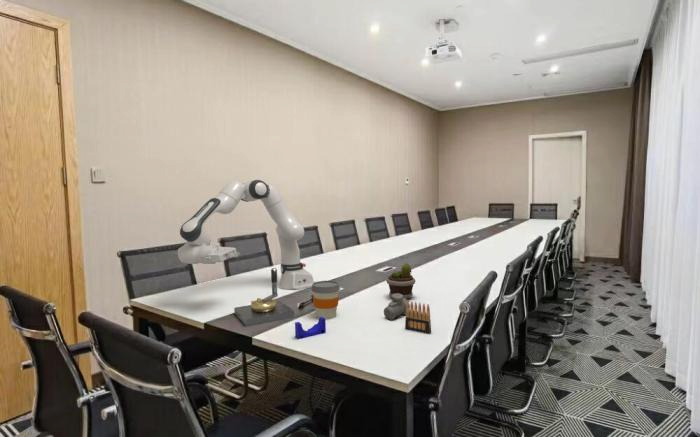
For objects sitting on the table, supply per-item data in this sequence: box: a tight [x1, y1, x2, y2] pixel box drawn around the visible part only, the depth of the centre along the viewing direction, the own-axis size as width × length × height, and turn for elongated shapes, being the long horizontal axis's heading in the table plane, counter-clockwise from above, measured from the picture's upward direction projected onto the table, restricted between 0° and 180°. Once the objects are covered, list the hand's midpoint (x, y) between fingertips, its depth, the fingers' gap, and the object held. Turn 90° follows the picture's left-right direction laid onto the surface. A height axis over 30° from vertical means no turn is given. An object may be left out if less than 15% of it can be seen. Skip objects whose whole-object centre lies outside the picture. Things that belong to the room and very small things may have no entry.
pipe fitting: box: [383, 293, 411, 320], centre depth 176 cm, size 12×8×10 cm
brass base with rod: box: [250, 267, 279, 312], centre depth 183 cm, size 17×11×17 cm, turn 160°
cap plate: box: [233, 300, 295, 327], centre depth 181 cm, size 22×20×3 cm
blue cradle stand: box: [294, 317, 327, 340], centre depth 157 cm, size 12×4×6 cm, turn 121°
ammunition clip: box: [404, 300, 432, 335], centre depth 158 cm, size 11×2×12 cm, turn 56°
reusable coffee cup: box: [311, 280, 340, 320], centre depth 179 cm, size 13×12×15 cm
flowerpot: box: [385, 261, 416, 301], centre depth 205 cm, size 14×15×20 cm
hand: (238, 254), depth 190 cm, fingers closed
